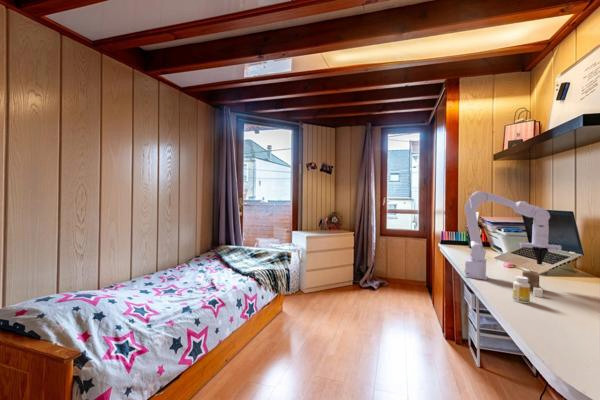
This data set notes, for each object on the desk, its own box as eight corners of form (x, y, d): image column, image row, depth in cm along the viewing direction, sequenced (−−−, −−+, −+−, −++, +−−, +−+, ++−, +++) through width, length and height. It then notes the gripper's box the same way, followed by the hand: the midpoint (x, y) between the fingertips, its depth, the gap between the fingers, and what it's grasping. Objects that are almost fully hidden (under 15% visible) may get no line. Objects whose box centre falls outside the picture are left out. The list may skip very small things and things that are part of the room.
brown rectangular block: (524, 287, 127) (524, 272, 126) (522, 284, 131) (522, 270, 131) (539, 289, 124) (539, 274, 124) (536, 286, 128) (537, 271, 128)
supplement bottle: (509, 299, 114) (510, 276, 114) (517, 297, 116) (517, 274, 116) (525, 304, 109) (525, 280, 109) (532, 302, 111) (533, 278, 111)
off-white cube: (534, 296, 118) (534, 289, 118) (533, 294, 120) (533, 287, 120) (542, 297, 117) (542, 290, 117) (541, 295, 119) (541, 288, 119)
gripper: (521, 234, 130) (521, 263, 131) (563, 237, 123) (562, 268, 123) (519, 232, 136) (518, 260, 137) (559, 235, 129) (558, 264, 129)
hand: (539, 264), depth 130 cm, fingers closed
